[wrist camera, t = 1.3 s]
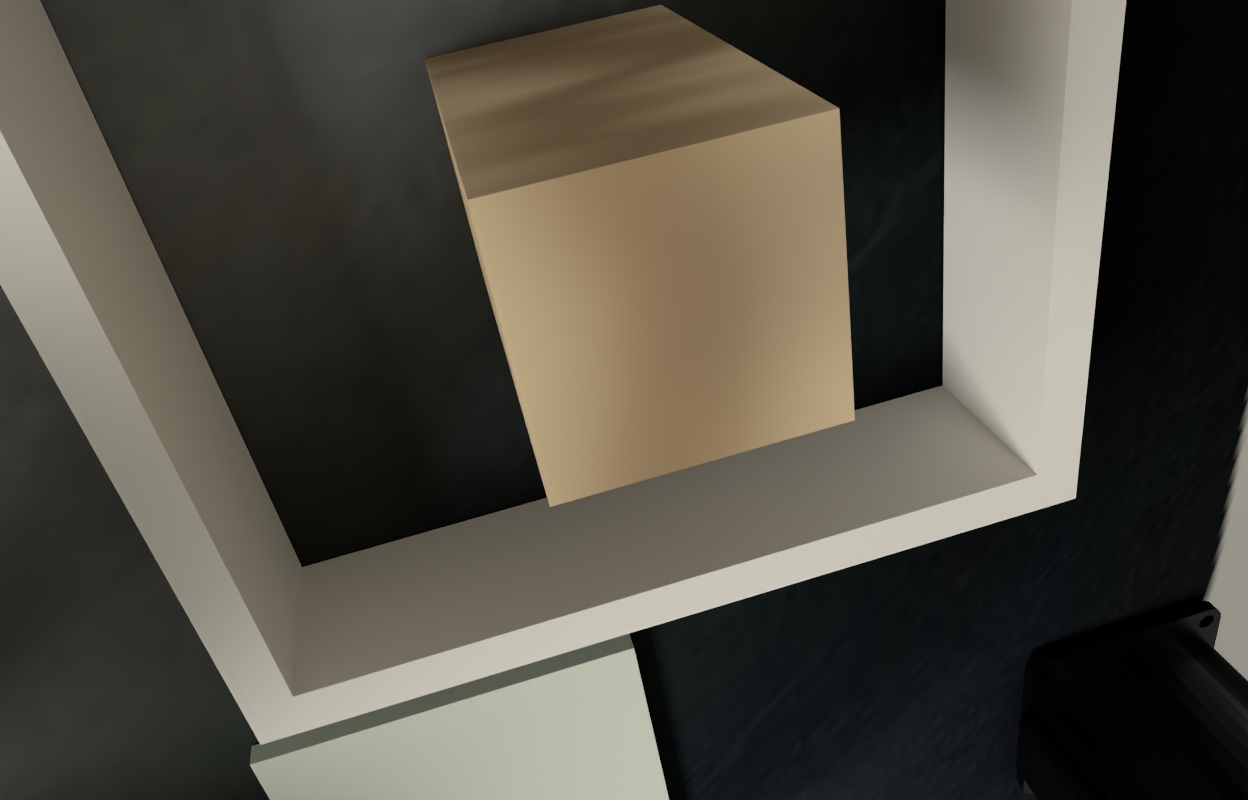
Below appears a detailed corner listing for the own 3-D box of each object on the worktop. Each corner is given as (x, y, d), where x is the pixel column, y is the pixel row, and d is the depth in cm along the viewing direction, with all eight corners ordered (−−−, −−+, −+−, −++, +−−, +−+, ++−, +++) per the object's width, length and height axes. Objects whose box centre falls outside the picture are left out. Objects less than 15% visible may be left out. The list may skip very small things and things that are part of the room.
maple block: (660, 4, 18) (839, 108, 12) (692, 227, 21) (854, 420, 14) (424, 58, 18) (468, 200, 11) (484, 280, 20) (549, 506, 13)
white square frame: (1008, -538, 15) (1191, -639, 12) (978, 407, 25) (1075, 498, 22) (-195, -331, 13) (-378, -384, 10) (274, 610, 23) (261, 744, 20)
